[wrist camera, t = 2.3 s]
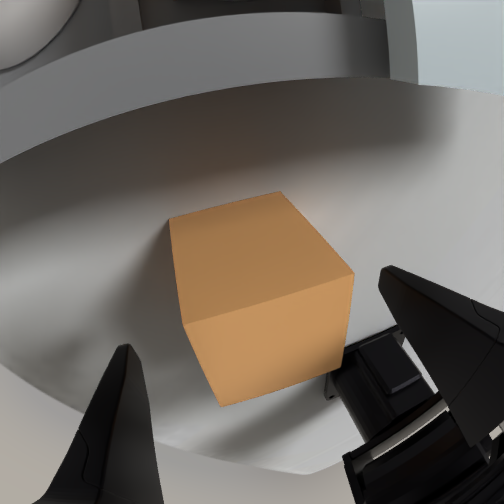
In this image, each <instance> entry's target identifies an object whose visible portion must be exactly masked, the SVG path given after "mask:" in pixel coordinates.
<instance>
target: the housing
mask: <svg viewBox="0 0 504 504" xmlns="http://www.w3.org/2000/svg"><path fill="white" fill-rule="evenodd" d="M338 77H379V78H390V61H389V46H388V35H387V25H386V20H382V19H376V18H369V17H362V11H361V4H360V0H175V1H173V0H0V163H2V162H4V161H6V160H8V159H10V158H12V157H14V156H16V155H18V154H20V153H22V152H24V151H26V150H29V149H31V148H33V147H35V146H37V145H39V144H42V143H44V142H46V141H49V140H51V139H53V138H56V137H58V136H60V135H63V134H65V133H68V132H70V131H73V130H76V129H78V128H81V127H83V126H86V125H89V124H92V123H95V122H97V121H100V120H103V119H106V118H109V117H112V116H115V115H118V114H122V113H125V112H128V111H132V110H135V109H138V108H142V107H145V106H149V105H153V104H157V103H160V102H164V101H168V100H173V99H177V98H181V97H186V96H190V95H195V94H200V93H205V92H210V91H215V90H221V89H226V88H232V87H239V86H246V85H253V84H260V83H269V82H278V81H288V80H300V79H315V78H338Z"/></svg>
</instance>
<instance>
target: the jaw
mask: <svg viewBox="0 0 504 504" xmlns="http://www.w3.org/2000/svg"><path fill="white" fill-rule="evenodd" d="M169 226H170V235H171V244H172V253H173V261H174V269H175V276H176V284H177V291H178V298H179V304H180V311H181V317H182V323H183V327H184V329H185V331H186V334H187V336H188V338H189V341H190V343H191V345H192V347H193V350H194V352H195V354H196V356H197V359H198V361H199V363H200V365H201V367H202V369H203V371H204V374H205V376H206V378H207V380H208V382H209V384H210V386H211V388H212V390H213V392H214V394H215V396H216V398H217V400H218V402H219V404H220V406H221V407H224V406H228V405H231V404H235V403H239V402H242V401H246V400H249V399H252V398H256V397H259V396H262V395H265V394H268V393H272V392H275V391H278V390H281V389H284V388H287V387H289V386H292V385H295V384H298V383H301V382H304V381H306V380H309V379H312V378H314V377H317V376H320V375H322V374H325V373H327V372H330V371H332V370H335V369H337V368H340V367H341V363H342V358H343V352H344V346H345V340H346V334H347V327H348V321H349V314H350V307H351V299H352V291H353V283H354V274H355V273H354V272H353V271H352V270H351V268H350V267H349V266H348V265H347V264H346V263H345V262H344V260H343V259H342V258H341V257H340V256H339V255H338V254H337V252H336V251H335V250H334V249H333V248H332V247H331V246H330V245H329V244H328V242H327V241H326V240H325V239H324V238H323V237H322V236H321V235H320V234H319V232H318V231H317V230H316V229H315V228H314V227H313V226H312V225H311V224H310V223H309V222H308V220H307V219H306V218H305V217H304V216H303V215H302V214H301V213H300V212H299V211H298V210H297V209H296V208H295V207H294V205H293V204H292V203H291V202H290V201H289V200H288V199H287V198H286V197H285V196H284V195H283V194H282V193H281V192H280V191H279V192H275V193H270V194H266V195H262V196H257V197H253V198H249V199H245V200H241V201H236V202H232V203H228V204H224V205H220V206H216V207H212V208H208V209H205V210H201V211H197V212H193V213H189V214H186V215H182V216H178V217H174V218H171V219H169Z"/></svg>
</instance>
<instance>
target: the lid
mask: <svg viewBox="0 0 504 504" xmlns="http://www.w3.org/2000/svg"><path fill="white" fill-rule="evenodd" d="M383 1H384V8H385V16H386V25H387V35H388V46H389V61H390V79H391V80H397V81H402V82H408V83H413V84H418V85H429V86H440V87H449V88H458V89H465V90H472V91H479V92H485V93H490V94H496V95H501V96H504V0H383Z"/></svg>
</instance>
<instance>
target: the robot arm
mask: <svg viewBox="0 0 504 504" xmlns="http://www.w3.org/2000/svg"><path fill="white" fill-rule="evenodd" d="M378 288H379V291H380V293H381V295H382V297H383V299H384V300H385V302H386V304H387V306H388V308H389V310H390V312H391V314H392V316H393V317H394V319H395V321H396V323H397V324H398V326H396V327H394V328H391V329H389V330H387V331H385V332H383V333H380V334H378V335H376V336H374V337H371V338H369V339H367V340H365V341H362V342H360V343H358V344H355V345H353V346H350V347H348V348H345V349H344V352H343V358H342V363H341V367H340V368H337V369H335V370H332V371H330V372H327V379H326V386H325V393H324V396H325V398H326V400H331V399H334V398H336V397H339V396H340V397H341V399H342V401H343V403H344V405H345V407H346V408H347V410H348V412H349V414H350V416H351V418H352V420H353V421H354V423H355V425H356V427H357V429H358V431H359V432H360V434H361V436H362V438H363V440H364V442H365V444H364V445H362V446H360V447H359V448H357V449H355V450H353V451H352V452H348V453H346V454H344V455H342V458H343V461H344V464H345V465H344V468H345V471H346V475H347V478H348V481H349V484H350V487H351V490H352V494H353V497H354V500H355V503H356V504H504V312H502V311H499V310H497V309H494V308H491V307H489V306H486V305H484V304H482V303H479V302H477V301H475V300H473V299H470V298H468V297H466V296H464V295H461V294H459V293H457V292H454V291H452V290H450V289H448V288H445V287H443V286H441V285H438V284H436V283H434V282H431V281H429V280H426V279H424V278H422V277H419V276H417V275H415V274H412V273H410V272H407V271H405V270H402V269H400V268H398V267H395V266H392V265H389V266H387V267H384V268H382V269H381V272H380V278H379V283H378ZM405 337H406V338H407V340H408V341H409V343H410V345H411V346H412V348H413V349H414V351H415V352H416V354H417V356H418V357H419V359H420V360H421V362H422V364H423V365H424V367H425V369H426V370H427V372H428V373H429V375H430V377H431V378H432V380H433V382H434V383H435V385H436V387H437V388H438V390H439V391H438V392H437V393H436V394H435V393H434V392H433V390H432V389H431V388H430V386H429V385H428V383H427V382H426V381H425V379H424V378H423V376H422V373H421V372H420V370H419V369H418V368H417V366H416V365H415V364H414V362H413V361H412V359H411V358H410V357H409V355H408V354H407V353H406V351H405V350H404V349H403V347H402V344H403V342H404V339H405ZM447 406H448V408H449V411H448V412H447V411H446V410H445V411H444V412H443V413H442V414H440V415H439V416H438V417H436V418H435V419H434V420H433V421H431V422H430V423H428V424H427V425H426V426H424V427H423V428H422V429H420V430H419V431H418V432H416V433H415V434H413V435H412V436H410V437H409V438H408V439H406V440H405V441H403V442H402V443H400V444H399V445H397V446H396V447H394V448H393V449H391V450H389V451H388V452H386V453H385V454H383V455H382V456H380V457H378V458H376V459H375V460H373V458H374V457H376V456H377V455H379V454H381V453H382V452H384V451H386V450H387V449H389V448H390V447H392V446H393V445H395V444H396V443H398V442H399V441H401V440H402V439H404V438H405V437H407V436H408V435H410V434H411V433H412V432H414V431H415V430H417V429H418V428H420V427H421V426H422V425H424V424H425V423H426V422H427V421H429V420H430V419H432V418H433V417H434V416H436V415H437V414H438V413H439V412H441V411H442V410H443V409H444V408H445V407H447ZM498 425H499V427H500V428H501V430H502V432H501V433H500V434H499V435H498V436H497V437H496V438H495V439H494V440H492V439H491V437H490V435H489V433H490V432H491V431H493V430H494V429H495V428H496V427H497V426H498ZM489 456H490V459H489ZM32 504H164V501H163V496H162V490H161V485H160V479H159V473H158V467H157V461H156V454H155V447H154V440H153V432H152V424H151V415H150V406H149V400H148V395H147V390H146V385H145V380H144V375H143V370H142V364H141V361H140V358H139V357H138V355H137V354H136V352H135V350H134V349H133V347H132V346H131V345H130V344H123V345H119V346H118V347H117V349H116V351H115V353H114V354H113V356H112V358H111V360H110V362H109V364H108V366H107V368H106V370H105V372H104V374H103V376H102V378H101V380H100V383H99V385H98V387H97V389H96V391H95V393H94V395H93V397H92V399H91V401H90V404H89V406H88V408H87V410H86V412H85V414H84V417H83V419H82V421H81V424H80V426H79V430H77V432H76V434H75V437H74V439H73V441H72V443H71V446H70V448H69V450H68V452H67V454H66V456H65V458H64V460H63V462H62V464H61V466H60V467H59V469H58V471H57V473H56V475H55V477H54V478H53V480H52V482H51V484H50V486H49V488H48V489H47V491H46V493H45V494H44V495H43V496H42V497H41V498H40V499H39V500H37V501H36V502H34V503H32Z"/></svg>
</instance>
